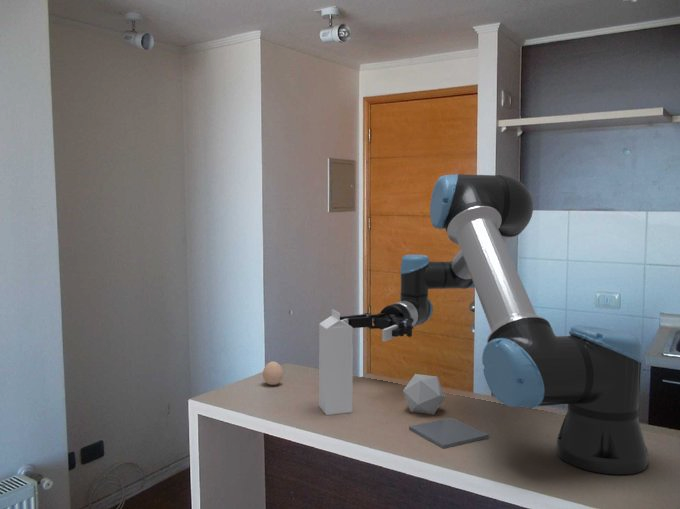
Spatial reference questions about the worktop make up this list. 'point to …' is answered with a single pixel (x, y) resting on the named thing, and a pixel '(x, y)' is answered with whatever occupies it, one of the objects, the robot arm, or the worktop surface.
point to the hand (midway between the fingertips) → (357, 332)
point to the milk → (335, 365)
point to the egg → (272, 373)
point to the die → (424, 394)
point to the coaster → (448, 432)
